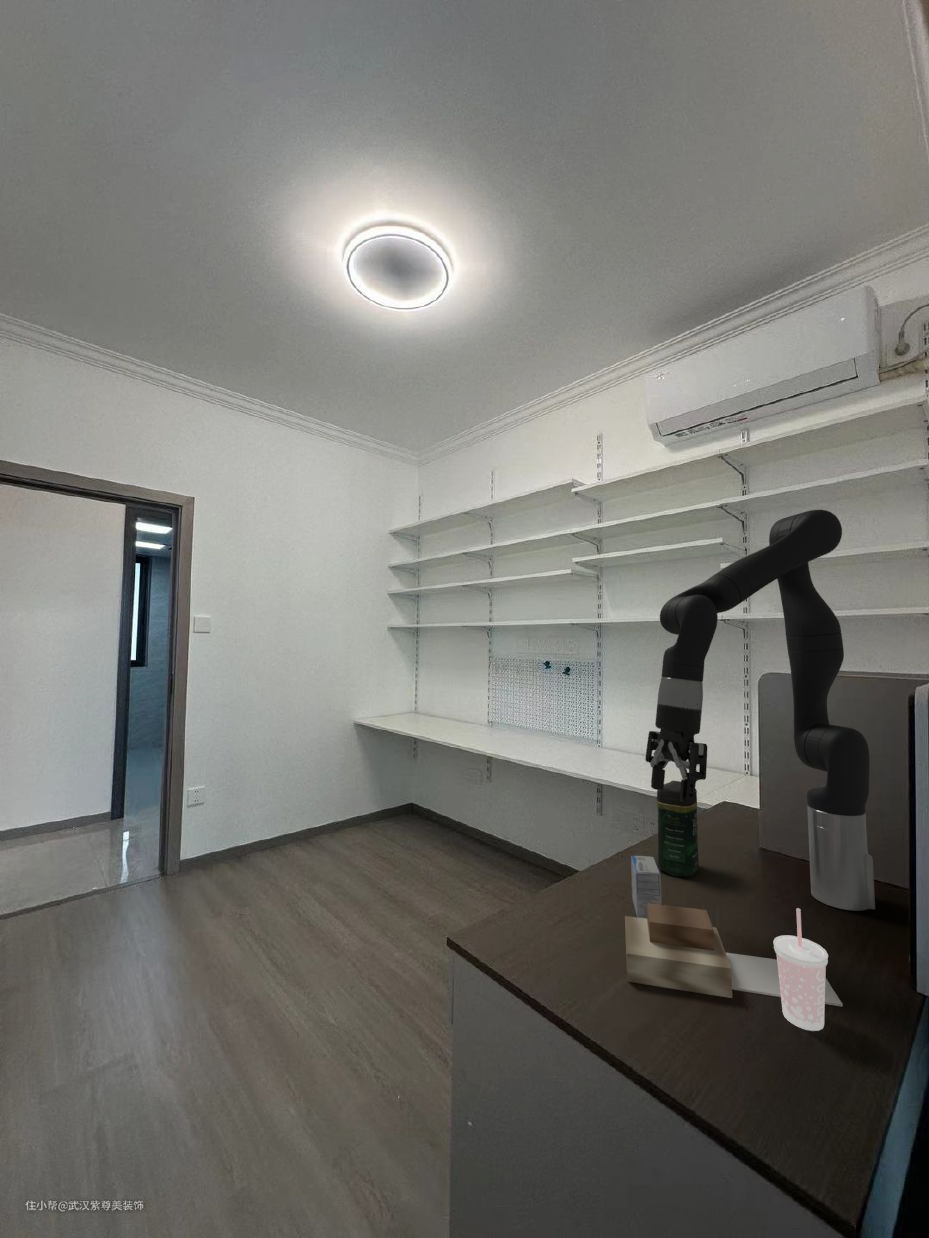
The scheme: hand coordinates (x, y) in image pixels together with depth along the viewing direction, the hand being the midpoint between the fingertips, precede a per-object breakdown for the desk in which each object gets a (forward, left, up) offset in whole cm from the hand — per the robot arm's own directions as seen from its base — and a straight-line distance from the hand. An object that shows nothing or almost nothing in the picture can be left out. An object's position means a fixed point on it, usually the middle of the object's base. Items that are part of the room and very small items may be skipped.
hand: (670, 795), depth 93 cm
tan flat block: (+1, +13, -22) cm, 26 cm away
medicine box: (+4, -3, -23) cm, 23 cm away
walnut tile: (0, +12, -18) cm, 22 cm away
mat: (-13, +12, -22) cm, 28 cm away
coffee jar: (-4, -24, -23) cm, 33 cm away
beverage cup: (-14, +20, -23) cm, 33 cm away
